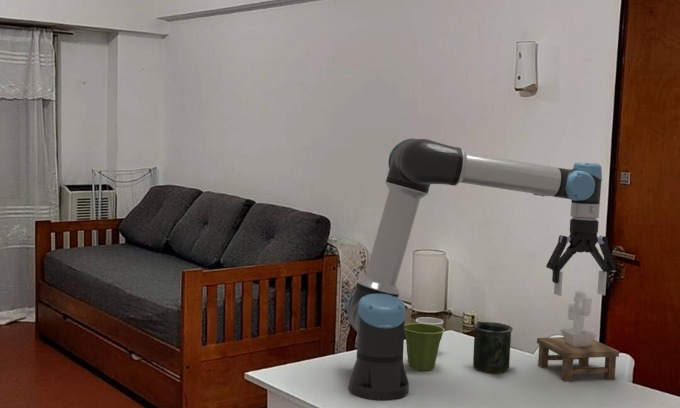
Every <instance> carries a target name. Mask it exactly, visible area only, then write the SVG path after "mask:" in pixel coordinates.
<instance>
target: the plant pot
mask: <svg viewBox="0 0 680 408" xmlns="http://www.w3.org/2000/svg"><path fill="white" fill-rule="evenodd" d="M445 332H446V330H445V328H444V327H443V326H442V327H440V326H437V325H432V324H424V323H415V322H413V323H405V327H404V338H405V342H406V353H407V354H406V355H407V365H408V367H409V368H411V369H413V370H416V371H417V370H422V371H425V372H427V371H431V370H434V369H435V366H436V361H437V357H438V353H439V349H440V343H441V340H442V337H443V334H444V333H445Z"/></svg>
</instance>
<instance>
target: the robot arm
mask: <svg viewBox="0 0 680 408" xmlns="http://www.w3.org/2000/svg"><path fill="white" fill-rule="evenodd" d="M388 168H389V169H388V171H387V175H386V179H385V185H386V187H387V189H388V194H387V197H386V201H385V203H384V207H383V210H382V214H381V218H380V222H379V226H378V227H377V228H378V229H377V233H376V236H375V239H374V242H373V246H372V250H371V254H370V257H369V260H368V264H367V268H366V272H365V275H364V276H363V277H362V278H359V279H358V280H357V282H356V285H355V289H354V293H352V295H350V297H349V299H348V301H347V304H346V315H347V320H348V322H349V324H350V326H351V327H352V328H353V329H354V331H356V333H357V342H356V360H355V362H354V365H353V368H352V371H351V373H350V377H349V379H348V391H349V392H350V393H351V394H352V395H355V396H358V397H361V398H364V399H371V400H395V399H400V398H403V397H405V396H407V395H409V391H410V382H409V379H408V376H407V371H406V367H405V364H404V344H405V342H404V341H405V332H404V327H405V324H406V321H405V320H406V317H407V314H406V306H405V302H404V301H403V300H402V299H401V298H400V297H399V294H400V292H399V288H397V281H398V278H399V274H400V270H401V267H402V264H403V261H404V256H405V254H406V250H407V246H408V243H409V240H410V236H411V232H412V229H413V225H414V222H415V218H416V215H417V212H418V207H419V205H420V202H421V199H423V198H424V197H425V196H427V195H428V193H429V190H430V186H431V185H446V186H447V185H448V186H453V187H456V186H457V185H459V184H460V183H461V184H468V185H474V186H482V187H488V188H493V189H494V188H495V189H501V190H510V191H514V192H521V193H529V194H532V195H534V196H541V197H553V198H560V199H568V200H570V201H571V204H570V205H571V206H570V213H569V214H570V215H569V216H570V217H572V218H570V219H569V236H565V235H562V234H560V235H558V240H557V243H556V246H555V248H554V250H553V252H552V254H551V256H550V258H549V259H548V261H547V264H546V268H547V269H549V270H551V271H552V275H551V276H552V277H551V281H552V283H554V286H553V289H554V290H553V295H556V296H562V294H563V293H562V291H563V289H562V288H563V276H564V275H563V274H564V273H563V271H561V270H562V269H563V268H564V267H565V265H566V264H567V263H568V262H569V261H570V259H571V258H572V257H573V256H574V255H575V254H577V253H590V255H591V256H592V257H593V259H594V260H595V262H596V264H598V266H599V268H600V269H601V270H598V279H597V295H602V296H606V293H607V292H606V289H607V284H608V283H609V279H610V278H609V277H610V273H612V271H613V270H616V269H617V265H616V263H615V261H614V258H613V255H612V252H611V249H610V247H609V242H608V237H607V236H604V235H599V236H598V232H599V224H600V223H599V220H597V219H599V218H600V205H601V204H600V203H601V202H600V201H601V192H602V191H601V190H602V181H603V177H602V176H603V172H602V166H601V164H600V163H595V162H594V163H593V162H574V164H573V167H572V169H571V168H570V169H569V168H562V167H556V166H551V165H550V166H549V165H544V164H536V163H531V162H524V161H519V160H512V159H506V158H502V157H493V156H487V155H481V154H476V153H468V152H465V151H464V150H463V148H462V147H456V146H452V145H448V144H445V143H441V142H437V141H435V140H430V139H427V138H426V139H425V138H414V137H413V138H406V139H404V140H402V141H400V142H399V143H397V144H396V145H395V146H394V147H393V148H392V149H391V151H390V153H389V155H388ZM597 243H598V245H599V249H600V251H601V253H600V252H599V249H598V248H597V246H596V245H597ZM567 244H569V246H568V247H567V248H566V246H567ZM565 248H566V250H565ZM564 250H565V251H564ZM601 254H602V255H601Z"/></svg>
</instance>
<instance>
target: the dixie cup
mask: <svg viewBox="0 0 680 408" xmlns="http://www.w3.org/2000/svg"><path fill="white" fill-rule="evenodd" d="M415 322H416V323H424V324H432V325H437V326H440V327H442V328H443V325H444V319H440V318H438V317H428V316H427V317H425V316H424V317H417V318H416V319H415Z"/></svg>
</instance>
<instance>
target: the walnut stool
mask: <svg viewBox="0 0 680 408" xmlns="http://www.w3.org/2000/svg"><path fill="white" fill-rule="evenodd" d="M536 344H538V360H537V364H538V365H537V366H538V367H539V368H544V367H546V368H548V367H549V361H562V365H561V380H562V381H563V380H564V382H566V383H567V381H569V382H573V375H580V374H582V375H583V374H602V373H603V378H604V379H606V380H608V379H609V380H610V381H611V380H615V381H616V365H617V364H616V363H617V358H619V357H620V351H619V350H617V349H615V348H613V347H611V346H608V345H607V344H604V343H602V342H600V341H597V340H595V339H593V341H592V342H591V344H590V345H589V346H588V347H573V346H572V345H570V344H568V343H566V341H565V339H564V336H562V337H560V336H559V337H537V338H536ZM550 351H552V352H553V353H555V354H549V352H550ZM591 358H593V359H594V358H604V366H598V367H597V366H596V367H595V366H594V367H592V366H591V367H589V364H590V363H589V361H590V359H591ZM574 360H578V365H580V366H581V367H574Z"/></svg>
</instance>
